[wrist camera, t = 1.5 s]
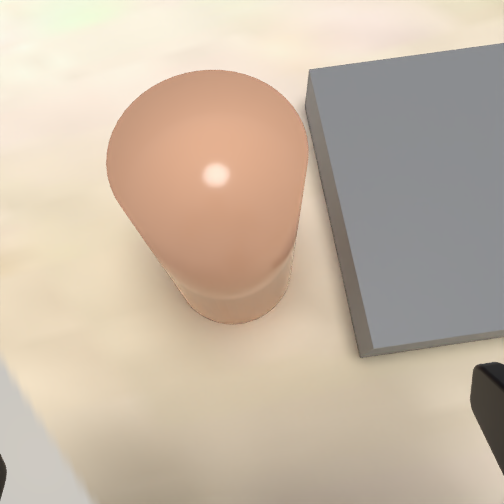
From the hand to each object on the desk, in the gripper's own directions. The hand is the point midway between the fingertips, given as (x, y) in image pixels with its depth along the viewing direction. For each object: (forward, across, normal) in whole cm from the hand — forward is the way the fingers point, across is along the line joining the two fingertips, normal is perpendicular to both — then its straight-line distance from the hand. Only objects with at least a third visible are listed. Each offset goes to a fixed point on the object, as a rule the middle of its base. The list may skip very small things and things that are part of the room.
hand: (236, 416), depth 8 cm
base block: (+16, -13, +3) cm, 21 cm away
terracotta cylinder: (+15, 0, +4) cm, 15 cm away
